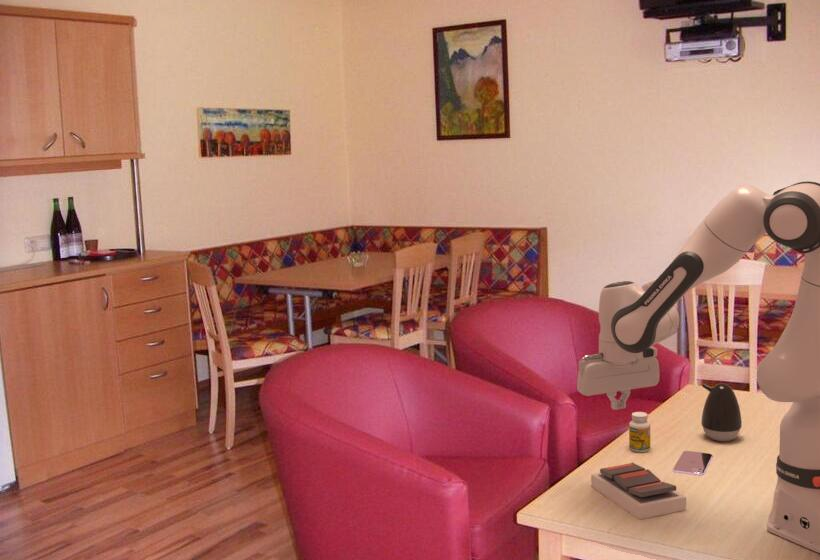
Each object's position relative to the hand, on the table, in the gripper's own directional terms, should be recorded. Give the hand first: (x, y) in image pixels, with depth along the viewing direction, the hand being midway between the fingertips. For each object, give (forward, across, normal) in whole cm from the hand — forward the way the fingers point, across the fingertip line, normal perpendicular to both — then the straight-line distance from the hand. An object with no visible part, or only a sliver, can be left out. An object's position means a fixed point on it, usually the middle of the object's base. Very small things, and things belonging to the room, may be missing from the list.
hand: (618, 408), depth 212 cm
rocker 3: (+15, 0, -14) cm, 20 cm away
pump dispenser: (+19, +42, +16) cm, 49 cm away
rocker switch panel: (+19, 0, -8) cm, 20 cm away
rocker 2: (+15, 0, -8) cm, 17 cm away
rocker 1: (+15, 0, -2) cm, 15 cm away
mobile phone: (+20, +24, +4) cm, 31 cm away
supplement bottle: (+19, +18, +18) cm, 32 cm away
